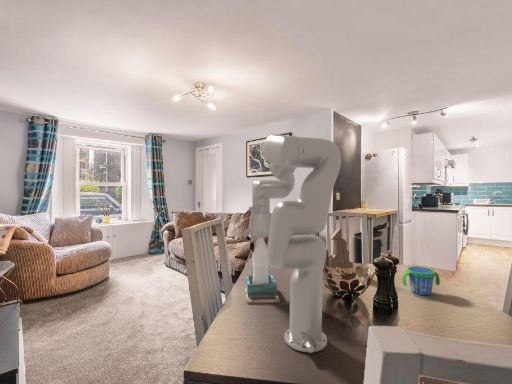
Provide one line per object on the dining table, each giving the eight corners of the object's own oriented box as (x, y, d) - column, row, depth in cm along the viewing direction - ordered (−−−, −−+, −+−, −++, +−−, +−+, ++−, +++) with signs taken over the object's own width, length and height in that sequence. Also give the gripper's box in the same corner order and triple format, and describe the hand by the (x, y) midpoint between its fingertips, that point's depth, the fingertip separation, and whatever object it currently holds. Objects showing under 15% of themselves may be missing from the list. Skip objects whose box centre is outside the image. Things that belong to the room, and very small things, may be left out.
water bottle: (250, 287, 119) (250, 231, 118) (265, 286, 121) (265, 230, 121) (255, 293, 112) (254, 233, 112) (271, 291, 114) (271, 232, 114)
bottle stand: (279, 302, 107) (279, 287, 107) (247, 303, 106) (247, 288, 106) (273, 287, 123) (273, 274, 123) (244, 288, 122) (244, 275, 122)
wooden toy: (345, 270, 150) (345, 225, 149) (353, 274, 143) (353, 227, 143) (320, 273, 145) (321, 226, 144) (328, 277, 138) (328, 228, 138)
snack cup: (408, 297, 113) (408, 273, 113) (396, 287, 124) (397, 265, 124) (447, 298, 112) (447, 274, 112) (432, 288, 123) (432, 266, 123)
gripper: (241, 210, 111) (241, 253, 111) (282, 210, 113) (282, 252, 113) (240, 209, 119) (240, 249, 119) (279, 209, 121) (279, 249, 121)
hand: (260, 250), depth 116 cm, fingers closed on water bottle, 6 cm apart
